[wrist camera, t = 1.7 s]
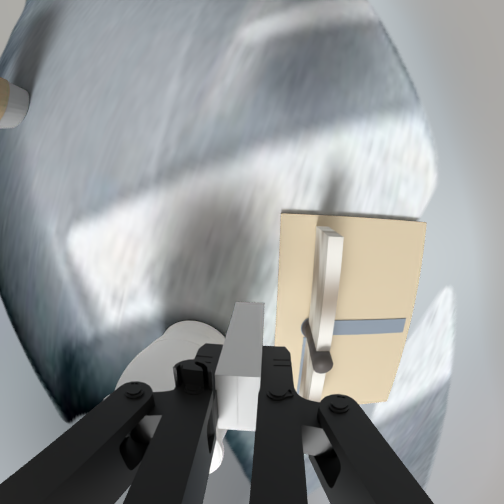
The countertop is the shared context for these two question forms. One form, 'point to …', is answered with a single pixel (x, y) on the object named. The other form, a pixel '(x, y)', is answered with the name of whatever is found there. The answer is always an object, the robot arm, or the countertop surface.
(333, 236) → the fence flap
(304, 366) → the fence fixed
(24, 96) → the coffee cup
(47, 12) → the countertop surface
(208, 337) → the jar
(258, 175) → the countertop surface
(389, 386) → the card
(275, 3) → the countertop surface
